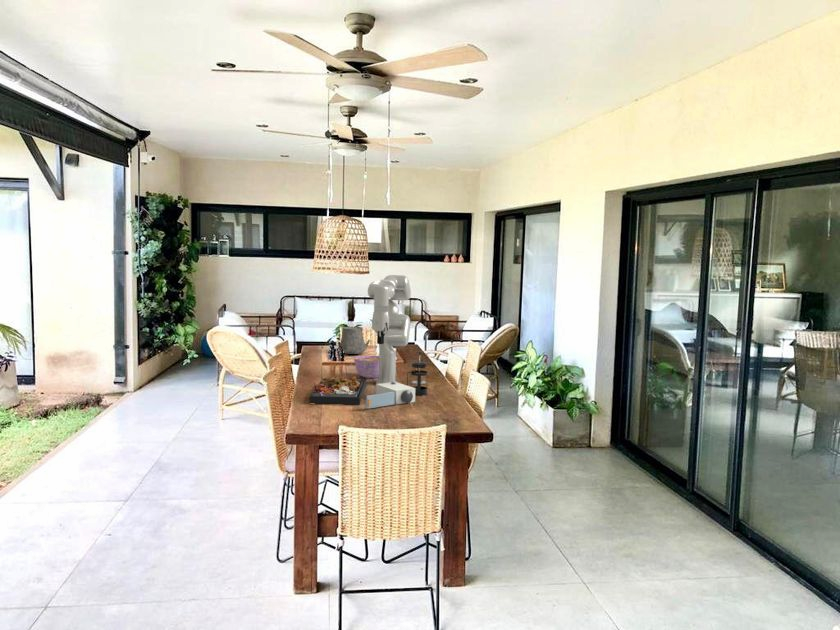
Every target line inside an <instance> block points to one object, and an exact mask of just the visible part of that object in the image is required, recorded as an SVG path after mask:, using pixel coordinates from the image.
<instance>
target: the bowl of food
mask: <svg viewBox="0 0 840 630" xmlns="http://www.w3.org/2000/svg"><path fill="white" fill-rule="evenodd" d="M353 359H354V364H355V365H354V366H355V369H356V370H355V371H356V373H357V374H358V375H360V376H362V377H363V379H370V378H372V379H378V378H377V376H378V375H379V355H357V356H355V357H353Z"/></svg>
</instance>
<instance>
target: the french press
mask: <svg viewBox="0 0 840 630" xmlns="http://www.w3.org/2000/svg"><path fill="white" fill-rule="evenodd" d="M415 353H417V354H418V356H419V361H412V362H411V367H412V368H413V369H415V370H411V371H407V375H406V376H407V377H406V385H407V386H409V374H410V376H414V377H415V376H416V377H417V380H413V381H412V380H411V385H414V386H412V387H413V388H415V397H416V396H418V397H423V396H422V395H425V396H428V386H422V385H428V381H429V380H428V378H429V376H428V375H429V372H428V371H427V370H421V369H426V367H427V365H429V362H427V361H421V356H422V354H424V351H421V350H418V351H416V352H415ZM416 369H418V370H416ZM425 376H426V381H425V380H422V377H425Z"/></svg>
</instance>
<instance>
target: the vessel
mask: <svg viewBox="0 0 840 630" xmlns="http://www.w3.org/2000/svg"><path fill="white" fill-rule="evenodd" d="M363 329H364V328H363V327H361V326H342V335H341V340H340V342H339V346H341V347H342V349H343V351H344V353H345V354H344V355H347V354H360V355H362V354H364V352H366V350H367V348H368V346H369V344H370V341H371V340H370V339H368V340H367V342H366V343H365V340H364V336H363ZM361 353H362V354H361Z"/></svg>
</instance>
